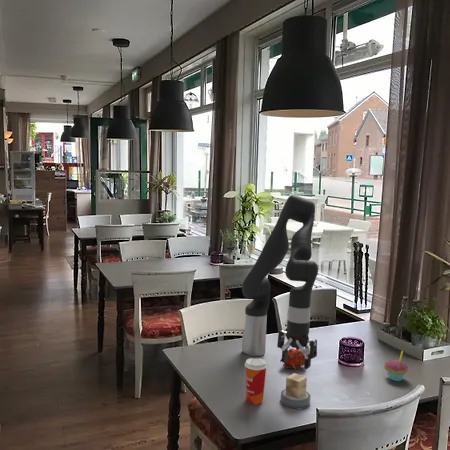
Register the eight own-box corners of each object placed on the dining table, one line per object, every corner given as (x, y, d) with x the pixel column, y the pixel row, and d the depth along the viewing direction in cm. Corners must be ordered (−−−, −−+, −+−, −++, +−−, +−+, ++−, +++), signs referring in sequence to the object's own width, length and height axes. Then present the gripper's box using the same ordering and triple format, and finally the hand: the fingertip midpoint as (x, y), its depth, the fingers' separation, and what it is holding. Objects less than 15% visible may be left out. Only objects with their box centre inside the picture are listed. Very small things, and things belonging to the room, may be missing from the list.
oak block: (285, 394, 168) (286, 377, 167) (293, 389, 172) (294, 373, 171) (298, 399, 165) (298, 381, 164) (305, 394, 168) (306, 377, 168)
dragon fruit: (309, 370, 199) (282, 377, 195) (301, 352, 204) (274, 359, 201) (313, 359, 193) (285, 366, 189) (305, 341, 198) (277, 347, 195)
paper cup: (241, 395, 172) (243, 357, 170) (263, 395, 172) (265, 357, 171) (244, 406, 164) (246, 366, 162) (267, 406, 165) (269, 366, 163)
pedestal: (274, 401, 168) (275, 394, 168) (290, 392, 176) (291, 384, 175) (300, 411, 162) (300, 404, 161) (315, 401, 169) (315, 393, 169)
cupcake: (406, 376, 192) (409, 346, 191) (407, 385, 184) (409, 354, 183) (383, 372, 195) (385, 343, 194) (383, 381, 187) (385, 350, 186)
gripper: (323, 321, 163) (319, 367, 165) (287, 311, 172) (284, 355, 174) (311, 326, 157) (307, 374, 159) (274, 316, 167) (272, 361, 169)
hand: (295, 364), depth 167 cm, fingers open, 8 cm apart
